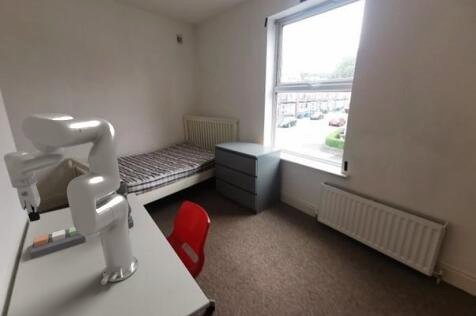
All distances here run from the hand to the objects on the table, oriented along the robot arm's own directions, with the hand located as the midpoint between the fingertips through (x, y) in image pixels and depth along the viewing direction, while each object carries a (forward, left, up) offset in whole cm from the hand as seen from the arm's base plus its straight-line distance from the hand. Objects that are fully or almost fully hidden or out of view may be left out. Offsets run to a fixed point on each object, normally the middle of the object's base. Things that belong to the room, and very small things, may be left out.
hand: (35, 220), depth 94 cm
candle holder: (+17, -30, -15) cm, 37 cm away
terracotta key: (0, 0, -13) cm, 13 cm away
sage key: (+7, -10, -13) cm, 18 cm away
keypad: (+4, -5, -15) cm, 16 cm away
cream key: (+4, -5, -13) cm, 14 cm away
